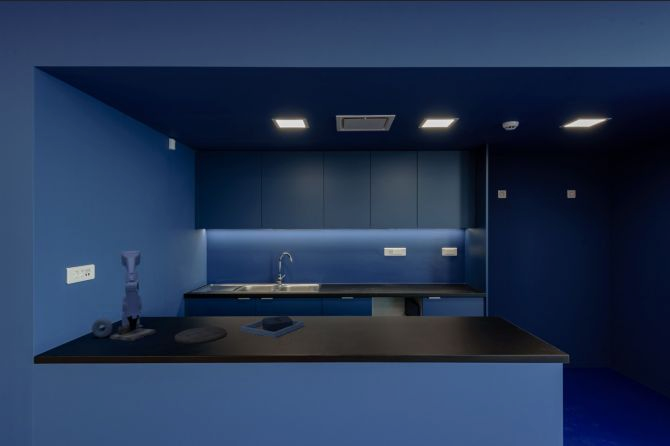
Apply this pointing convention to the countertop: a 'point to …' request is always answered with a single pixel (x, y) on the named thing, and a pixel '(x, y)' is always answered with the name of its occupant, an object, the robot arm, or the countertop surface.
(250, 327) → the tray
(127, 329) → the stool leg
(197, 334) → the trivet
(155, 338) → the countertop surface
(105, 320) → the donut
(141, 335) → the stool seat
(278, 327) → the streaming box
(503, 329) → the countertop surface
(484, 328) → the countertop surface
